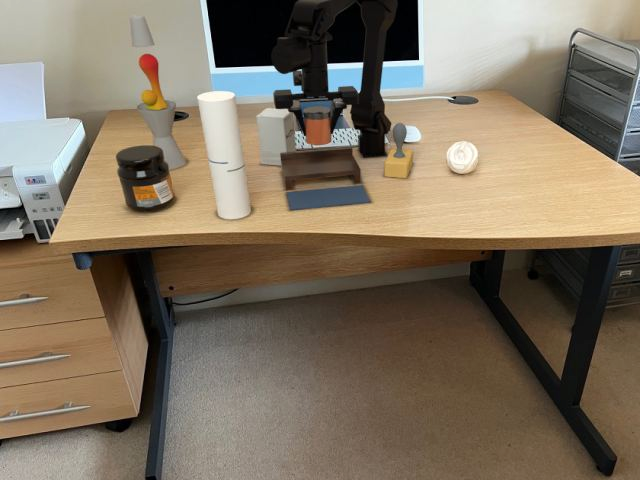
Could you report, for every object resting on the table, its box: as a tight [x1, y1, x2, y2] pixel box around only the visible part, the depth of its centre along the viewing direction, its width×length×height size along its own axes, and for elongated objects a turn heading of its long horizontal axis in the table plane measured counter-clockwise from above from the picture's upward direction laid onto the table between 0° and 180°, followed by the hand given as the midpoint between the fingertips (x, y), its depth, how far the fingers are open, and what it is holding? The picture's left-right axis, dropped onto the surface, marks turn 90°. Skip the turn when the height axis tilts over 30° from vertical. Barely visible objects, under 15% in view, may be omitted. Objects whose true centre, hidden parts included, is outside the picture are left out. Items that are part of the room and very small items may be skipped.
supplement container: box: [115, 144, 176, 213], centre depth 126 cm, size 10×10×12 cm
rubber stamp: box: [383, 122, 414, 179], centre depth 143 cm, size 10×6×12 cm, turn 169°
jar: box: [302, 105, 332, 146], centre depth 133 cm, size 6×6×7 cm
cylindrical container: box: [196, 90, 252, 220], centre depth 119 cm, size 7×7×25 cm
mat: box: [286, 184, 371, 211], centre depth 132 cm, size 18×9×1 cm, turn 103°
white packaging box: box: [255, 107, 297, 166], centre depth 148 cm, size 7×7×13 cm
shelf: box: [280, 146, 362, 191], centre depth 141 cm, size 18×11×5 cm, turn 103°
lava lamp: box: [129, 14, 187, 171], centre depth 139 cm, size 9×9×35 cm
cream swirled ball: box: [445, 140, 480, 175], centre depth 143 cm, size 8×8×8 cm
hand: (318, 134), depth 134 cm, fingers closed on jar, 6 cm apart
